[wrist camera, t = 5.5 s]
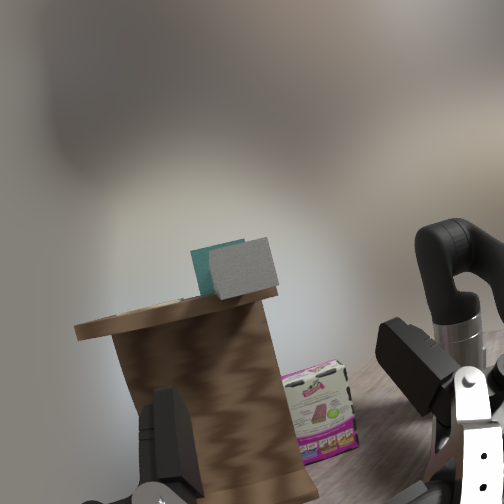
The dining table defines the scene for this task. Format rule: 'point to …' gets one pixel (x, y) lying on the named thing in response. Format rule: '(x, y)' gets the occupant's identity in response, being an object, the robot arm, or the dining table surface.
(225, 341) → the bracket shelf
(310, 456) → the candy bar box
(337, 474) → the dining table surface
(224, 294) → the grey and teal bar
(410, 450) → the dining table surface
